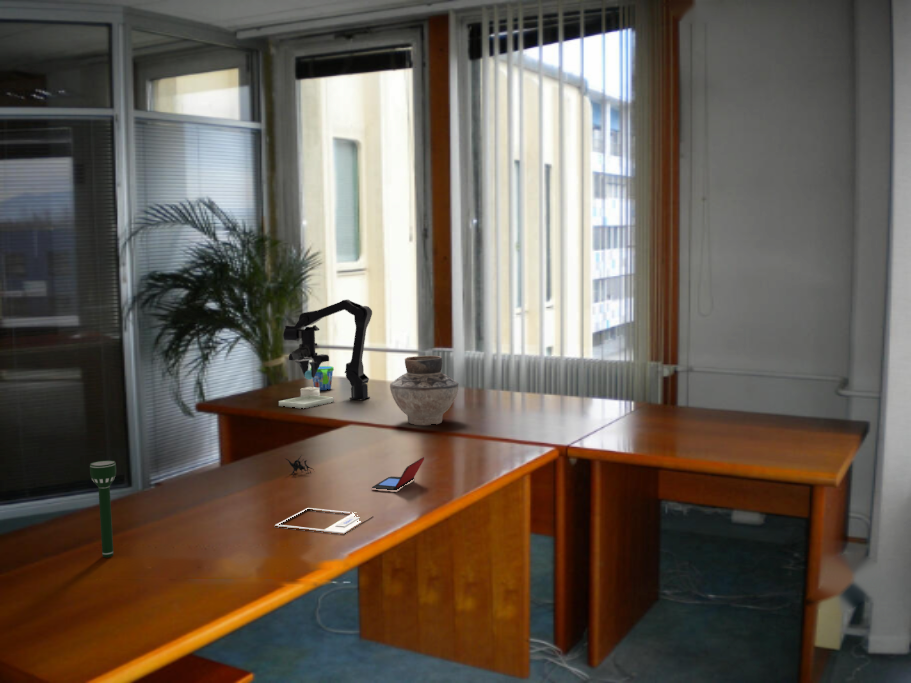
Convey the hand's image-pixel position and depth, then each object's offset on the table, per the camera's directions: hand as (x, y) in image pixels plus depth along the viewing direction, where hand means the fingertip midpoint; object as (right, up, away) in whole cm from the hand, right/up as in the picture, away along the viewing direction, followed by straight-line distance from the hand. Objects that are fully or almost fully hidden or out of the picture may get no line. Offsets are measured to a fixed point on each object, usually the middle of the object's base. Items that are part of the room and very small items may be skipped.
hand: (309, 377), depth 392 cm
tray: (+1, -11, -15) cm, 19 cm away
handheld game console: (+48, -24, -148) cm, 157 cm away
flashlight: (-10, -30, -201) cm, 203 cm away
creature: (+19, -23, -133) cm, 136 cm away
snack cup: (+2, -7, +23) cm, 25 cm away
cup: (0, -9, +1) cm, 9 cm away
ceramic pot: (+52, -14, -59) cm, 80 cm away
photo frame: (+32, -27, -179) cm, 183 cm away
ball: (0, -1, 0) cm, 1 cm away
